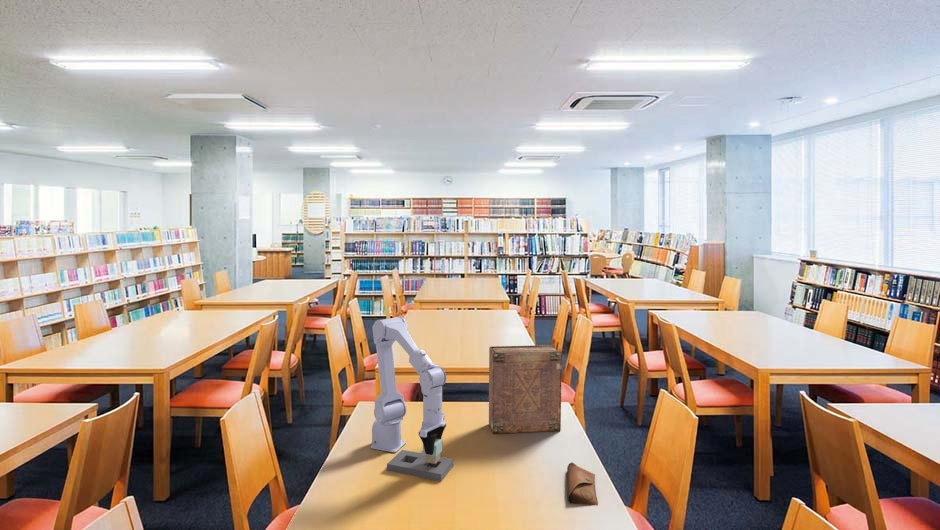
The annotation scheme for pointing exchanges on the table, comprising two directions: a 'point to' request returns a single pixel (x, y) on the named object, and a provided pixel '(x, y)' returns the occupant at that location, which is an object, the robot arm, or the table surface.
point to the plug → (434, 452)
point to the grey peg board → (419, 465)
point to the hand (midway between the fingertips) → (432, 450)
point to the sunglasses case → (581, 486)
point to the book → (524, 389)
